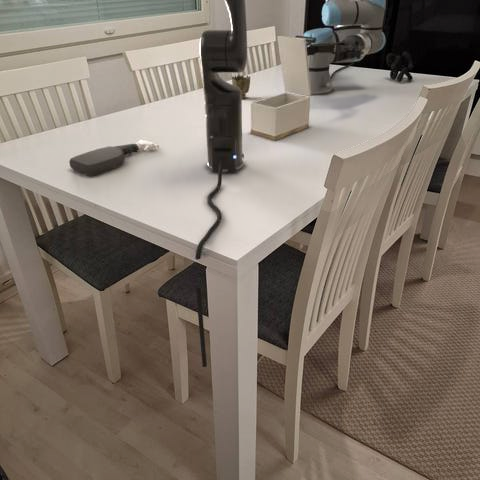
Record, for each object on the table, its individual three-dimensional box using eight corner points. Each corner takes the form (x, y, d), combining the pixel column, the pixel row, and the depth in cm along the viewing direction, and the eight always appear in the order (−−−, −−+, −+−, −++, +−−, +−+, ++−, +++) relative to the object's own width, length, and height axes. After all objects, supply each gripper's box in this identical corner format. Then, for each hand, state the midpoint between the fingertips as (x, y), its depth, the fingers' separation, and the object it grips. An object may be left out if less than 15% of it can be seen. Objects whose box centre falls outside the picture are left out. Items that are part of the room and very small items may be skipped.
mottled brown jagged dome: (228, 98, 178) (228, 78, 173) (237, 94, 183) (237, 74, 179) (245, 101, 175) (245, 79, 170) (253, 96, 180) (253, 75, 176)
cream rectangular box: (275, 140, 136) (275, 108, 131) (250, 133, 142) (250, 102, 137) (308, 127, 146) (310, 97, 141) (284, 121, 152) (285, 92, 147)
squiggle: (400, 92, 202) (376, 71, 205) (417, 76, 202) (392, 56, 205) (405, 81, 191) (380, 59, 194) (423, 64, 191) (397, 42, 194)
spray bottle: (67, 168, 120) (139, 144, 136) (91, 178, 114) (163, 151, 130) (65, 157, 118) (137, 134, 134) (89, 167, 112) (162, 142, 128)
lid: (304, 39, 129) (319, 29, 132) (277, 36, 135) (292, 27, 138) (309, 96, 141) (324, 85, 144) (284, 91, 147) (299, 81, 150)
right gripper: (385, 61, 152) (351, 71, 139) (325, 53, 167) (289, 62, 154) (389, 37, 148) (354, 45, 135) (326, 31, 163) (290, 38, 150)
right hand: (319, 54), depth 145 cm, fingers open, 13 cm apart
